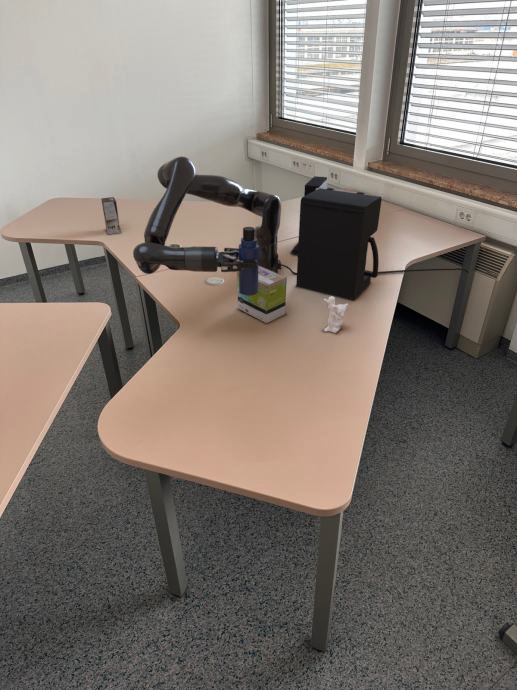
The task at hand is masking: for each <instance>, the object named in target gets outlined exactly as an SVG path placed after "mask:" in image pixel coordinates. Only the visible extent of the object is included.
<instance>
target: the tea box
mask: <svg viewBox="0 0 517 690" xmlns="http://www.w3.org/2000/svg"><path fill="white" fill-rule="evenodd" d="M287 280H288V277H287V276H285V275H282V274H279V273H278V274H277V273H275V272H273V271H270V270H268V269H265V268H263V267H261V266H259V268H258V293H257V294H255V295H249V296H248V295H242V294H241V293H239V272H236V282H237V283H236V285H237V309H238V310H240V311H242V312H244V313H246V314H248V315H250V316H252V317H254V318H256V319H257V320H259V321H261V322H263V323H265V324H268V323H270V322H272V321H274V320H276V319H278V318H281V317H282V316H285V315H286V307H287V306H286V305H287V285H288V284H287V283H288V282H287Z"/></svg>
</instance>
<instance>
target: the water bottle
mask: <svg viewBox="0 0 517 690" xmlns="http://www.w3.org/2000/svg"><path fill="white" fill-rule="evenodd" d="M238 249H239V259H240V260H256V261H257V267H256V268H244V269H241V271H240V272H239V293H241V294H242V295H248V296H249V295H255V294H257V293H258V268H259V245H258V244H257V239H256V238H255V227H253V226H244V227H243V228H242V237H241V238H240V243H239V244H238Z"/></svg>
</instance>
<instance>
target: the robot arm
mask: <svg viewBox="0 0 517 690" xmlns="http://www.w3.org/2000/svg"><path fill="white" fill-rule="evenodd" d="M196 173H197V172H196V167H195V165H194V163H193V161H192V160H191V159H190V158H188V157H187V156H182V155H181V156H177V157H174V158H173V159H170V160H168V161H166V162H164V163H163V164H162V165H161V166H159V168H158V170H157V173H156V174H157V175H156V176H157V179H158V182H159V183H160V185H161V186H162V187H163V188H164V189H165V192H164V193H163V195H162V197H161V198H160V200H159V201H158V203H157V204H156V206H155V207H154V208H153V210H152V211H151V214H150V215H149V217H148V220H147V223H146V226H145V228H144V232H143V238H144V239H143V240H144V242H141V243H139V244H137V245H136V246H135V247H134V248H133V250H132V257H133V259H134V261H135V263H136V265H137V267H138V269H139V270H140V271H141V273H144V274H145V275H151V274H154V273H156V272H157V271H159V269H160V267H161V266H165V267H166V268H167V269H168V270H171V271H182V272H183V271H185V272H187V271H188V272H195V273H197V272H198V273H199V272H201V273H216V272H217V271H218V268H220V272H221V273H234V272H236V273H237V272H240V271H241V269H244V268H256V267H257V261H256V260H240V259H239V247H238V248H236V247H234V248H233V247H223V251H219V250H218V247H216V246H200V245H199V246H197V245H195V246H169V245H166V241H167V239H168V237H169V234H170V232H171V228H172V225H173V223H174V220H175V217H176V216H177V213H178V211H179V209H180V207H181V204H182V203H183V201H184V199H185V197H186V195H191V196H194V197H198V198H200V199H203V200H207V201H210V202H213V203H215V204H219V205H222V206H226V207H231V208H241V209H244V210H246V211H248V212H250V213H253V214H254V215H256V216H258V217H261V219H262V220H261V224H257V225H256V226H254V228H255V238H256V239H257V244H258V245H259V266H261V267H263V268H265V269H268V270H270V271H273V272H275V273H277V274H279V270H282V267H284V268H286V269H287V270H289V271H290V273H291V274H293V275H296V276H297V272H295V271H293V269H291V267H289V266H288V265H285V264H283V263H282V262H281V259H279V253H278V236H279V235H278V233H279V229H280V226H281V216H282V203H281V199H280V197H279V196H278V195H276V194H273V193H269V192H267V191H261V190H256V189H250V188H246V187H245V186H243V185H242V184H240V183H239V182H237V181H235V180H233V179H231V178H228V177H226V176H223V175H215V174H198V173H197V174H196ZM424 271H426V272H428V271H464V272H465V273H470V271H469V270H468V269H466V268H463V267H457V268H455V267H454V268H449V267H448V268H447V267H445V268H417V269H416V268H413V269H398V270H385V271H378V274H390V273H405V272H406V273H407V272H424Z"/></svg>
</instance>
